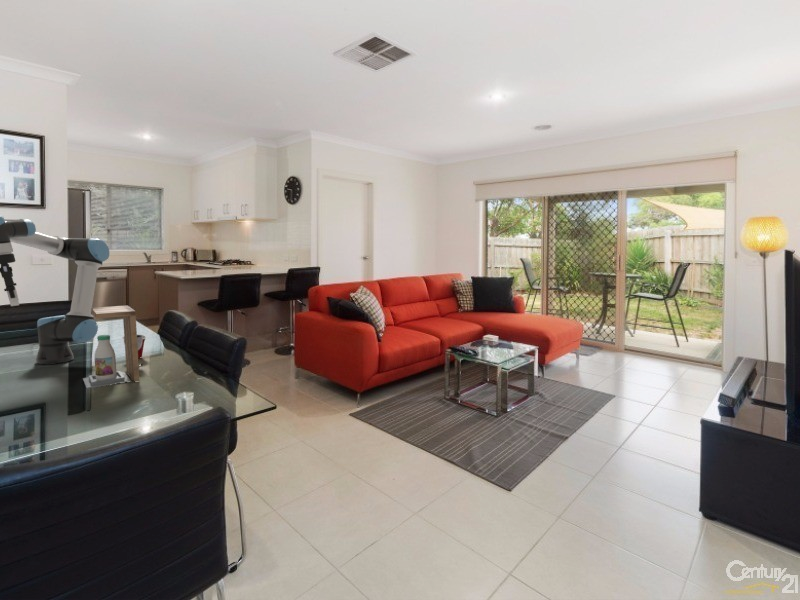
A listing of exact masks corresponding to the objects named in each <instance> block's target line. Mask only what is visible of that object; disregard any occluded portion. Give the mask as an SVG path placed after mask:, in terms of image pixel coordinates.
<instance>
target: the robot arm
mask: <svg viewBox="0 0 800 600" xmlns="http://www.w3.org/2000/svg"><path fill="white" fill-rule="evenodd" d="M36 231H37V227H36V225H35V223H34V222H33V221H32V220H30V219H23V218H20V219H5V217H4V216H2V215H0V274H1V278H2V279H3V282H4V286H5V288H4V289H3V290H4V292H6V294H7V297H8V301H9V304H10V307H15V306H20V299H19V295H18V293H17V288H16V286H17V282H15V281H14V279H13V277H14V274H13V268H12V266H10V264H12V263H15V262H16V258H15V254H14V253H13V252H14V248H13V246H12V243H14V244H19V245H21V246H26V247H30V248H33V249H36V250H37V249H38V250H41V251H45V252H47V253H48V254H49V255H53V256H56V257H58V258H59V257H60V258H63V259H66V260H72V261H74V263H75V264H76V265H77V268H76V269H77V270H76V276H75V281H74V288H73V293H72V300H71V304H70V311H69V312H67V313H66V314H63V315H55V316H49V317H48V316H47V317H42V318H39V319H37V322H36V323H37V325H36V328H37V336H38V337H37V338H38V344H39V345H38V346H39V348H38V351H37V355H36V357H35V363H36V364H37V363H39V364H38V365H42V364H46V365H56V364H55V363H58V364H63V363H67V362H71V361H72V360H74V359H75V358H74V353H73V352H72V349H71V347H70V345H69V342H70V343H80V344H81V343H87V342H88V343H89V342H90V341H92V340H93V339H94V338H95V337H96V335H97V333H98V331H99V325H98V322H97V321H96V320H94V318H95V316H94V315H93V313H92V312H91V308H93V304H94V303H93V302H94V295H95V290H96V284H97V277H98V271H99V268H101V267H102V266H103V262H105V261H107V260H109V258H110V248H109V246H108V244H107V243H106V242H105V241H104V240H103V239H99V238H90V237H89V238H85V237H84V238H83V237H81V238H80V237H79V238H78V237H61V236H56V235H53V236H51V235H48V234H43V233H41V232H36ZM62 362H63V363H62Z"/></svg>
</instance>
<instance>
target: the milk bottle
mask: <svg viewBox="0 0 800 600" xmlns="http://www.w3.org/2000/svg"><path fill="white" fill-rule="evenodd" d="M96 338H97V342H98V344H97V347H96V349H95V351H94V370H95V371H94V372H95V375H96V380H97V381H100V380H106V379H113V378H117V362H116V361H117V359H116V352H115V349H114V348H113V346H112V344H111V342H110V341H111V335H109V334H103V335H102V334H100V335H97V337H96Z"/></svg>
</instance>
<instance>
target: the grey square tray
mask: <svg viewBox="0 0 800 600" xmlns="http://www.w3.org/2000/svg"><path fill="white" fill-rule="evenodd" d="M116 372H117V378H113V379H106V380H100V381H97V380H96V374H91V375H88V377H83V378H82V381H83V383H84V386H85V389H86V390H89V389H95V388H96V387H97V388H102V387H101V386H103V387H106V386H105V385H109V386H111V385H110V384H115V383H120V382H127V381H131V382H132V379H131V378H129V377H130V376H129V375H128V374H127V372H125V371H124V372H122V371H121V370H116ZM127 383H128V382H127ZM115 385H116V384H115Z"/></svg>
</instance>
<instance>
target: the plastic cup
mask: <svg viewBox="0 0 800 600" xmlns="http://www.w3.org/2000/svg"><path fill="white" fill-rule="evenodd" d="M141 335H142V346H141V348H140V349H139V350H138V358H140V357H143V352H144V345H145V340H146V338H147V336H146V335H143V334H141ZM122 339H123V340H124V336H122ZM140 359H141V358H140Z"/></svg>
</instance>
